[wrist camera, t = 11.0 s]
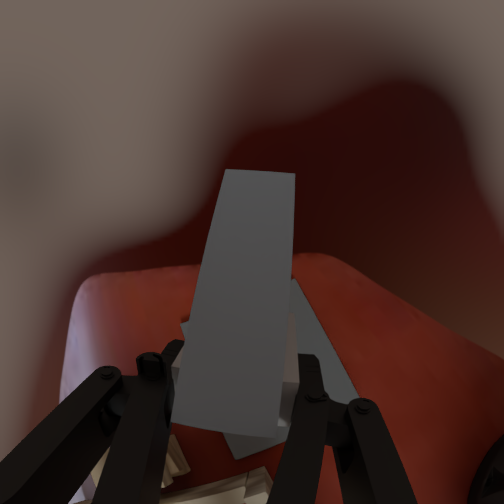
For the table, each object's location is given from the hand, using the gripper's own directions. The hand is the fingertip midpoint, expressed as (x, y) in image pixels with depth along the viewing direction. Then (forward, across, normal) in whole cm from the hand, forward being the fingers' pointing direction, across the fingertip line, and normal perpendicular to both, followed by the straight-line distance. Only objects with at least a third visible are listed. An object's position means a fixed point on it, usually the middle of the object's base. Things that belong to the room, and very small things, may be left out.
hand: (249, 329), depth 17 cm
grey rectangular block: (+5, 0, -4) cm, 6 cm away
